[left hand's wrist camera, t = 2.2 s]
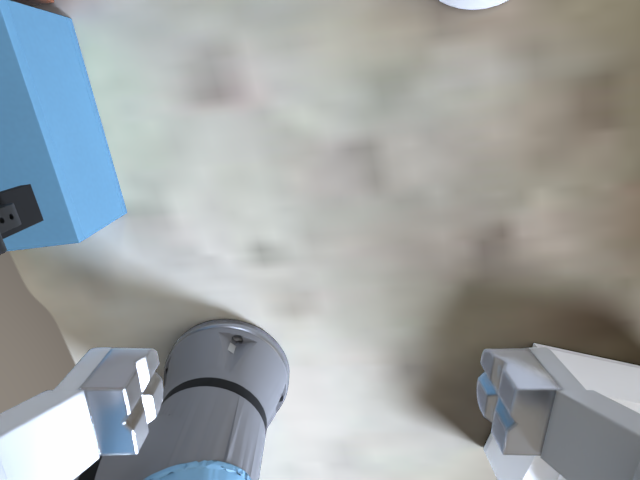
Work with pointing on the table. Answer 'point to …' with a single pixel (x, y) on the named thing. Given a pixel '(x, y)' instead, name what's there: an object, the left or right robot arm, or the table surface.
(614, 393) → the butter dish
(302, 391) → the table surface
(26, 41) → the light blue box
